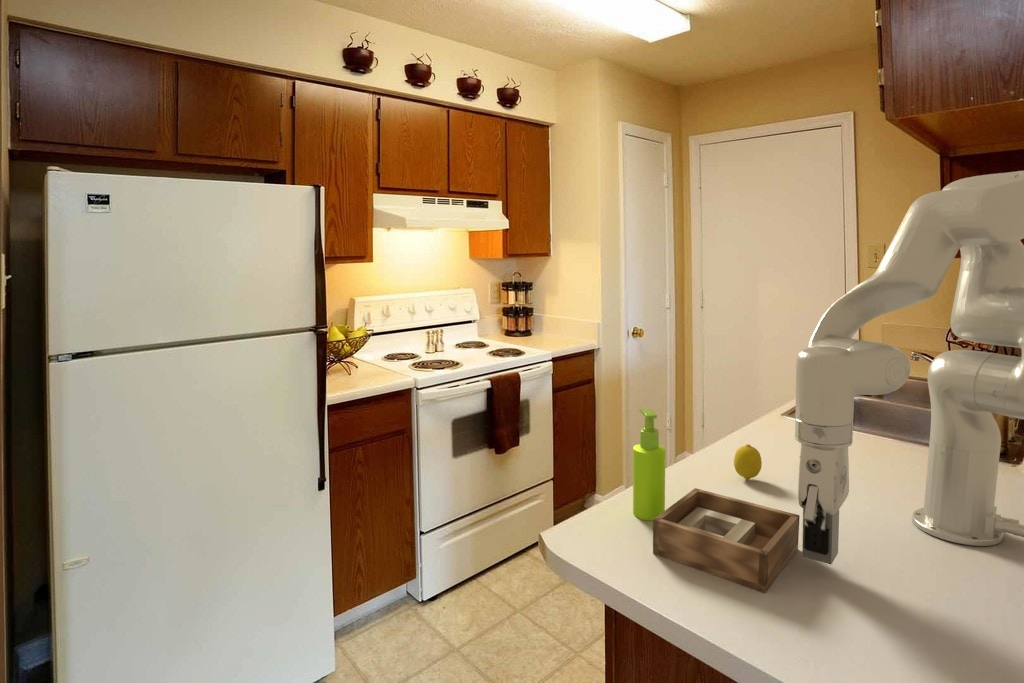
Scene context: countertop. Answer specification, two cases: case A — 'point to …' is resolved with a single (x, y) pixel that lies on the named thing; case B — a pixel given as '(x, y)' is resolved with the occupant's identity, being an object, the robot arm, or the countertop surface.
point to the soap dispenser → (648, 471)
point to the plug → (833, 539)
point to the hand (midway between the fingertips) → (820, 543)
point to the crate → (727, 537)
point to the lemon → (747, 462)
